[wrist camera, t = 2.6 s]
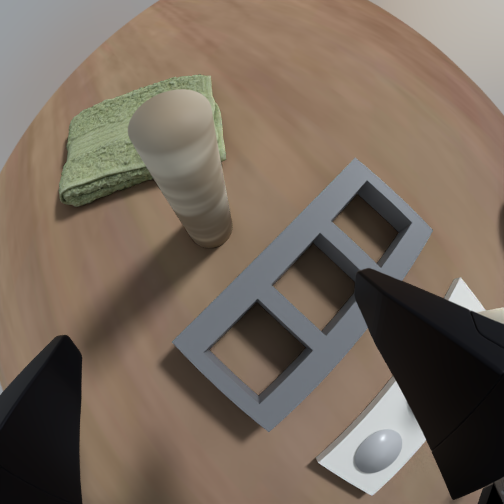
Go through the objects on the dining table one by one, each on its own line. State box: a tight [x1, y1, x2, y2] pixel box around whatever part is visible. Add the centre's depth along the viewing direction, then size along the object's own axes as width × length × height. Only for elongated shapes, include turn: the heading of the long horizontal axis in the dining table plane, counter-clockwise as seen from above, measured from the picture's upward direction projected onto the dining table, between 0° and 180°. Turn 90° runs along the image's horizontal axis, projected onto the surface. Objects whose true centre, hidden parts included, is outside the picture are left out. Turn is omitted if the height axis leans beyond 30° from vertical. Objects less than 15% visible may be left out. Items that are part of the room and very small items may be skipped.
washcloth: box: [59, 74, 226, 207], centre depth 24 cm, size 13×18×3 cm
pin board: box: [172, 158, 433, 432], centre depth 20 cm, size 20×9×2 cm, turn 136°
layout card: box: [316, 277, 504, 495], centre depth 15 cm, size 20×8×8 cm, turn 136°
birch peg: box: [128, 89, 232, 248], centre depth 16 cm, size 4×4×13 cm
